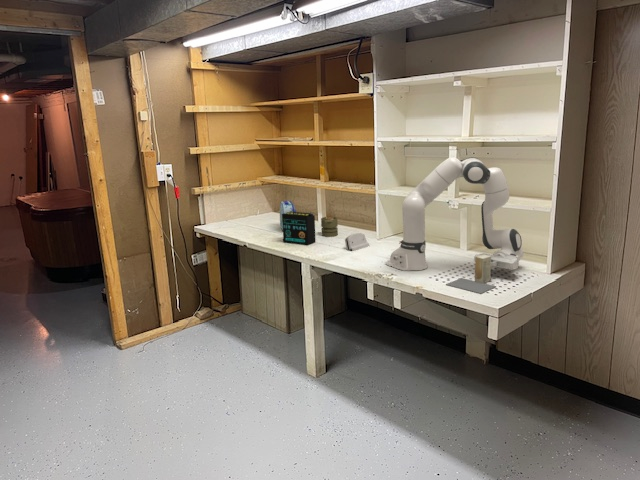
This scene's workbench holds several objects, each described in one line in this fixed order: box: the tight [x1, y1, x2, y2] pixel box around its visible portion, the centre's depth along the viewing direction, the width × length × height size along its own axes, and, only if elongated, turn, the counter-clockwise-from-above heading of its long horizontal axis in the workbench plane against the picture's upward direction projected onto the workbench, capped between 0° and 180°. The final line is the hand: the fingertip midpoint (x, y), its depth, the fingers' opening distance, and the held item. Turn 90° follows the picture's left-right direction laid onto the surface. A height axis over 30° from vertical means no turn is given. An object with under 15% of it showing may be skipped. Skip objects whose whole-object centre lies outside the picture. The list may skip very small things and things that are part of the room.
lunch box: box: [279, 200, 297, 231], centre depth 353 cm, size 26×11×21 cm, turn 10°
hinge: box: [344, 232, 371, 252], centre depth 295 cm, size 17×5×10 cm, turn 135°
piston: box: [320, 216, 339, 238], centre depth 331 cm, size 11×12×11 cm
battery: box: [282, 211, 316, 246], centre depth 311 cm, size 19×10×20 cm, turn 59°
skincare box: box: [474, 255, 492, 283], centre depth 224 cm, size 6×4×12 cm
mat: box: [445, 277, 497, 295], centre depth 219 cm, size 18×13×1 cm
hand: (487, 264), depth 227 cm, fingers closed
